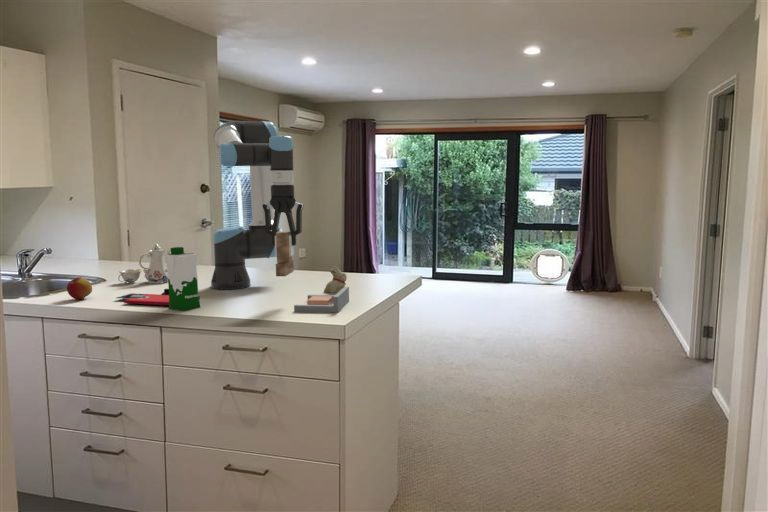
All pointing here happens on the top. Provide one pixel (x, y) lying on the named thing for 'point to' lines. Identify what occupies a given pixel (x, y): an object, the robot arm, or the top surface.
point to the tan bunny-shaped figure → (336, 281)
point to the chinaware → (150, 268)
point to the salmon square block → (320, 300)
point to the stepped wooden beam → (283, 254)
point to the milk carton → (182, 279)
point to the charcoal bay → (338, 304)
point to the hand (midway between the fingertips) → (284, 255)
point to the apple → (79, 288)
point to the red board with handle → (148, 298)
